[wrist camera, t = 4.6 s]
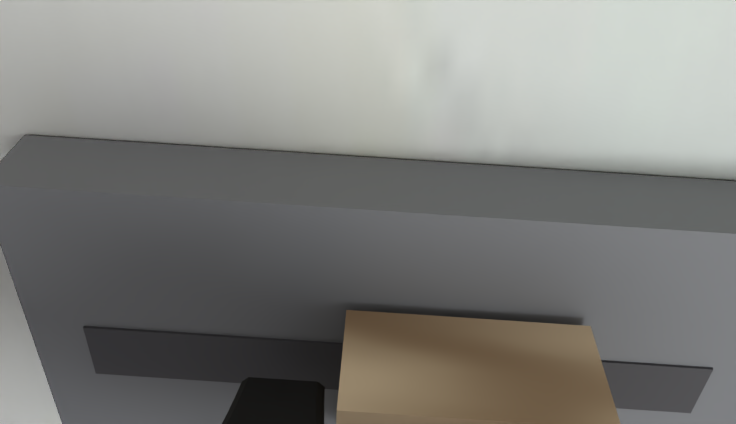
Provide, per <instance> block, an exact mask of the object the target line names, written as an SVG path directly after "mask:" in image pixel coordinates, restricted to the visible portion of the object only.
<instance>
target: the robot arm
mask: <svg viewBox="0 0 736 424" xmlns="http://www.w3.org/2000/svg"><path fill="white" fill-rule="evenodd" d="M324 401H325V387H324V386H323V385H322V384H320V383H319V382H317V381H301V380H286V379H271V378H255V377H248V378H246V379H245V380H243V381H242V382H241V384H240V387H239V389H238V391H237V394H236V396H235V398H234V400H233V402H232V404H231V406H230V409H229V411H228V413H227V415H226V417H225V419H224V421H223V422H222V424H324Z"/></svg>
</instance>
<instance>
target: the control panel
mask: <svg viewBox="0 0 736 424" xmlns="http://www.w3.org/2000/svg"><path fill="white" fill-rule="evenodd" d="M0 245H1V247H2V250H3V253H4V256H5V259H6V262H7V265H8V268H9V271H10V273H11V276H12V279H13V282H14V285H15V288H16V291H17V294H18V297H19V300H20V302H21V305H22V308H23V311H24V314H25V317H26V320H27V323H28V326H29V329H30V331H31V334H32V337H33V340H34V343H35V346H36V349H37V352H38V355H39V357H40V360H41V363H42V366H43V369H44V372H45V375H46V378H47V381H48V384H49V386H50V389H51V392H52V395H53V398H54V401H55V404H56V407H57V410H58V413H59V415H60V418H61V421H62V424H222V422H223V421H224V419H225V417H226V415H227V413H228V411H229V409H230V406H231V404H232V402H233V400H234V398H235V396H236V394H237V391H238V389H239V387H240V384H241V382H242V381H243V380H245V379H246V378H248V377H255V378H271V379H286V380H301V381H317V382H319V383H320V384H322V385H323V386H324V387H325V401H324V424H336V414H337V402H338V391H339V381H340V371H341V360H342V350H343V340H344V329H345V319H346V310H356V311H371V312H387V313H402V314H417V315H432V316H447V317H462V318H477V319H492V320H508V321H523V322H538V323H553V324H568V325H583V326H591V329H592V332H593V336H594V339H595V342H596V345H597V349H598V352H599V355H600V358H601V362H602V365H603V368H604V371H605V375H606V378H607V381H608V384H609V388H610V391H611V394H612V397H613V401H614V404H615V407H616V411H617V414H618V417H619V420H620V424H736V181H725V180H710V179H695V178H679V177H664V176H648V175H633V174H618V173H602V172H587V171H572V170H556V169H541V168H525V167H510V166H495V165H479V164H464V163H448V162H433V161H418V160H402V159H387V158H372V157H356V156H341V155H325V154H310V153H295V152H279V151H264V150H249V149H233V148H218V147H202V146H187V145H172V144H156V143H141V142H125V141H110V140H95V139H79V138H64V137H49V136H33V135H24V136H23V138H22V139H21V140H20V141H19V142H18V143H17V144H16V145H15V146H14V147H13V149H12V150H11V151H10V152H9V153H8V154H7V155H6V156H5V157H4V158H3V160H2V161H1V162H0Z"/></svg>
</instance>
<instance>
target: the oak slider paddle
mask: <svg viewBox="0 0 736 424" xmlns="http://www.w3.org/2000/svg"><path fill="white" fill-rule="evenodd" d="M336 424H620V420H619V417H618V414H617V411H616V407H615V404H614V401H613V397H612V394H611V391H610V388H609V384H608V381H607V378H606V375H605V371H604V368H603V365H602V362H601V358H600V355H599V352H598V349H597V345H596V342H595V339H594V336H593V332H592V329H591V326H583V325H568V324H553V323H538V322H523V321H508V320H492V319H477V318H462V317H447V316H432V315H417V314H402V313H387V312H371V311H356V310H346V319H345V329H344V340H343V350H342V360H341V371H340V381H339V391H338V402H337V414H336Z"/></svg>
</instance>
